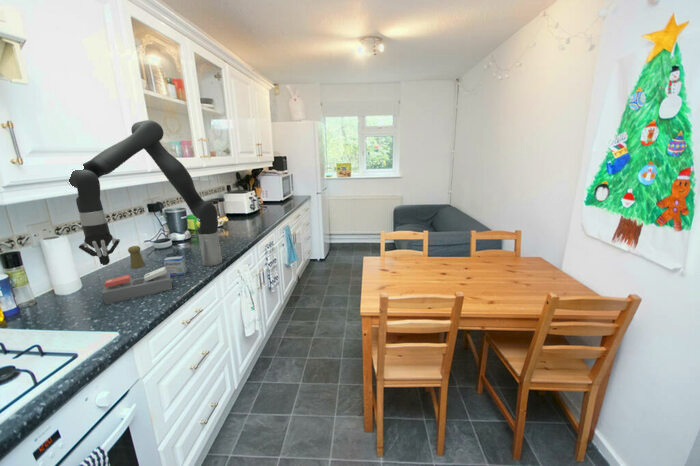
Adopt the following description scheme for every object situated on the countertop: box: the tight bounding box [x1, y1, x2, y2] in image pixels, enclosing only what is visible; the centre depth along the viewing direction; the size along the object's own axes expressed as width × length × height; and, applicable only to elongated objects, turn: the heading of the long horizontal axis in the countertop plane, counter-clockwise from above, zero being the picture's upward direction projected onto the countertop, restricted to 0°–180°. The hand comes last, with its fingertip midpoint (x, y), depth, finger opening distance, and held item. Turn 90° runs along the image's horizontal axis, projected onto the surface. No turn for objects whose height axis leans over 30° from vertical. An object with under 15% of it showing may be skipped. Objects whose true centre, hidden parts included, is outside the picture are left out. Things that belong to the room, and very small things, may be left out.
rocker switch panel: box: [101, 272, 173, 305], centre depth 124 cm, size 23×9×6 cm, turn 122°
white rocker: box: [143, 266, 166, 281], centre depth 126 cm, size 8×4×2 cm, turn 121°
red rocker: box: [104, 274, 132, 288], centre depth 120 cm, size 8×4×2 cm, turn 122°
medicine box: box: [163, 255, 187, 277], centre depth 142 cm, size 8×4×9 cm, turn 105°
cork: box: [127, 245, 145, 269], centre depth 152 cm, size 6×6×11 cm
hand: (105, 264), depth 117 cm, fingers closed
